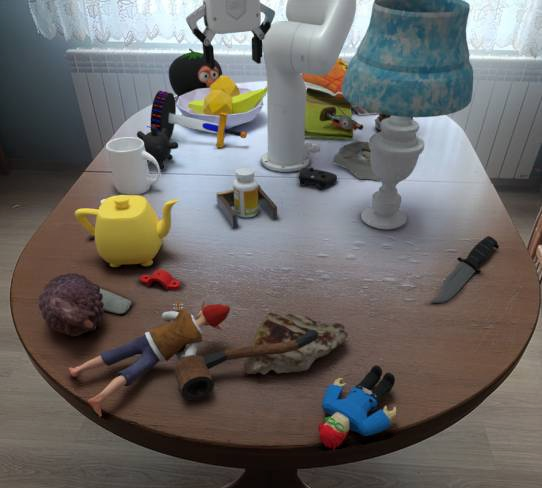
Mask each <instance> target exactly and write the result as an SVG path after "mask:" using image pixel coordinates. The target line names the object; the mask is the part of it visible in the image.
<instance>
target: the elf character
mask: <svg viewBox="0 0 542 488" xmlns="http://www.w3.org/2000/svg"><path fill="white" fill-rule="evenodd" d="M172 306H173V308H172V309H173V310H169V311H164V312H163V313H162V314H161V319H162V320H163V321H164V322H165V323H162V324H160V325H156V326H152V327H149V328H148V331H146V332H144V334H143V335H141V336H137V337H136V338H134V339H133V340H131V341H130V342H128V343H126V344H123V345H121V346H117V347H115V348H112V349H108V350H106V351H102V352H100V355H98V356H96V357H94V358H92V359H89V360H87V361H86V362H84V363H82V364H80V365H79V366H75V367H68V368H67V369H68V371H69V372H70V375H71V376H72V377H73V378H77V377H78V375H80V374H82V373H83V372H85V371H88V370H91V369H95V368H98V367H102V366H104V365H106V366H108V367H110V366H113V365H114V364H117V363H119V362H121V361H124V360H127V359H129V358H132V357H134V356H136V355H137V356H138V355H140V356H139V358H137V360H135V361H134V363H132V364H131V365H130V366H128V367H126V368H125V369H122V370H120V371H118V372H117V375H116V377H115V378H113V379H112V380H111V381H110V382H109V383H108V384H107V386H106V387H105V388H104V389H103V390H102V391H101V392H99V393H98V394H97V395H95V396H93V397H90V398H88V400H87V401H88V402H87V403H88V405H90V406H91V407H92V409H93V411H94V412H95V413H96V414H97V415H98V417H99V418H100V417H102V416H103V413H102V404H103V402H104V401H105V400H106V399H107V398H109V397H110V396H112V395H114V394H115V393H116V392H117V391H118V390H120V389H121V388H123V387H129V386H131V385H133V383H134V382H136V381H137V380H138V379H140V378H142V377H143V376H144V375H145V374H146V373H147V372H149V371H150V370H152V369H153V368H154V367H155V366H156V365H157V364H158V363H159V362H160V361H161V362H164V361H166V362H168V361H170V359H171V358H172V357H173V356H176V358H177V360H178V361H180V360H181V359H182V358H183V357H186V356H189V355H197V351H198V348H199V346H200V345H201V342H202V340H203V334H204V333H203V332H204V331H203V330H202V327H203V326H210V327H212V328H213V329H215V330H220V331H222V332H223V331H224V330H223V329H222V328H221V326H220V324H221V323H223V322H224V321H226V319H227V317H228V316H229V314H230V311H231V307H230V306H229V305H224V304H221V303H215V304H214V303H211V304H207V305H206V302H205V298H204V297H203V298H202V303H201V305H200V308H201V309H200V311H199V312H198V314H197V315H196V318H195V316H194V315H193V314H191V313H190V312H189V311H187V310H186V309H184V307H183V306H184V303H181V302H180V301H176V302H175V303H173V304H172ZM174 310H175V311H174ZM187 346H188V347H187ZM186 348H187V349H186ZM185 350H186V351H185Z"/></svg>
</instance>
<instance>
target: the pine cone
mask: <svg viewBox="0 0 542 488" xmlns="http://www.w3.org/2000/svg"><path fill="white" fill-rule="evenodd" d="M100 288H101V287H100V286H99V285H98V284H96V283H93V281H91V279H89V278H87V277H86V276H85V275H83V274H79V273H71V272H68V273H65V274H60V275H57V276H55V277H54V278H51V280H49V282H48V283H47V284H45V285H44V287H43V292H42V293H40V294H39V297H38V300H39V304H38V308H39V310H40V312H41V316H42V319H43V320H44V321H45V322H44V323H45V325H46V326H47V327H49V328H51V329H52V330H54V331H56V332H58V333H62V334H65V335H67V336H70V337H77V336H78V337H79V336H81V335H82V334H85V333H88V332H89V331H95V330H96V328H97V326H100V325H102V324H103V319H102V316H103V315H104V313H105V311H103V309H102V308H103V306H104V303H103V302H102V298H103V295H102V294H101V293H100Z"/></svg>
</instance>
